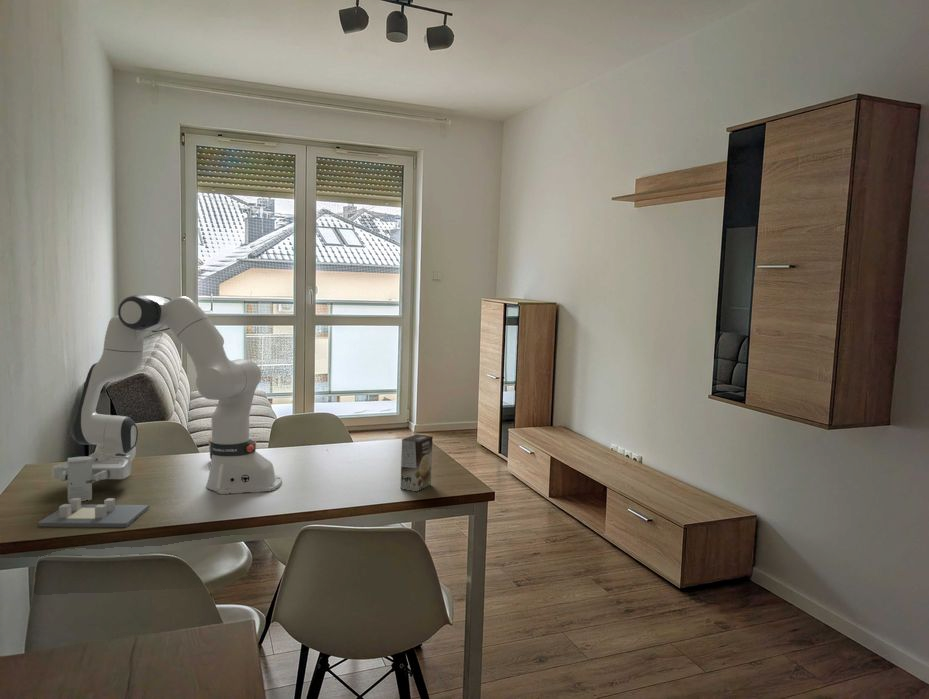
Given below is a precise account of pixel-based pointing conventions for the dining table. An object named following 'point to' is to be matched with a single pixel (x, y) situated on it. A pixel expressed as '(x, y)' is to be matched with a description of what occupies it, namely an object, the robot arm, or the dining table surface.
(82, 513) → the board
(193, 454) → the dining table surface
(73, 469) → the skincare box
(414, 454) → the coffee box
